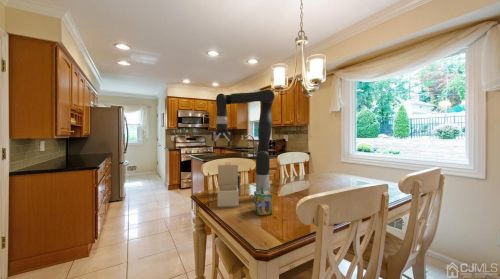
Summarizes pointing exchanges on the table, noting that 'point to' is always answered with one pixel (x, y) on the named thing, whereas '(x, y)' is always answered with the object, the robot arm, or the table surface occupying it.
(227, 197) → the carton
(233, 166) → the carton lid
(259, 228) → the table surface
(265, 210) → the chalk box
